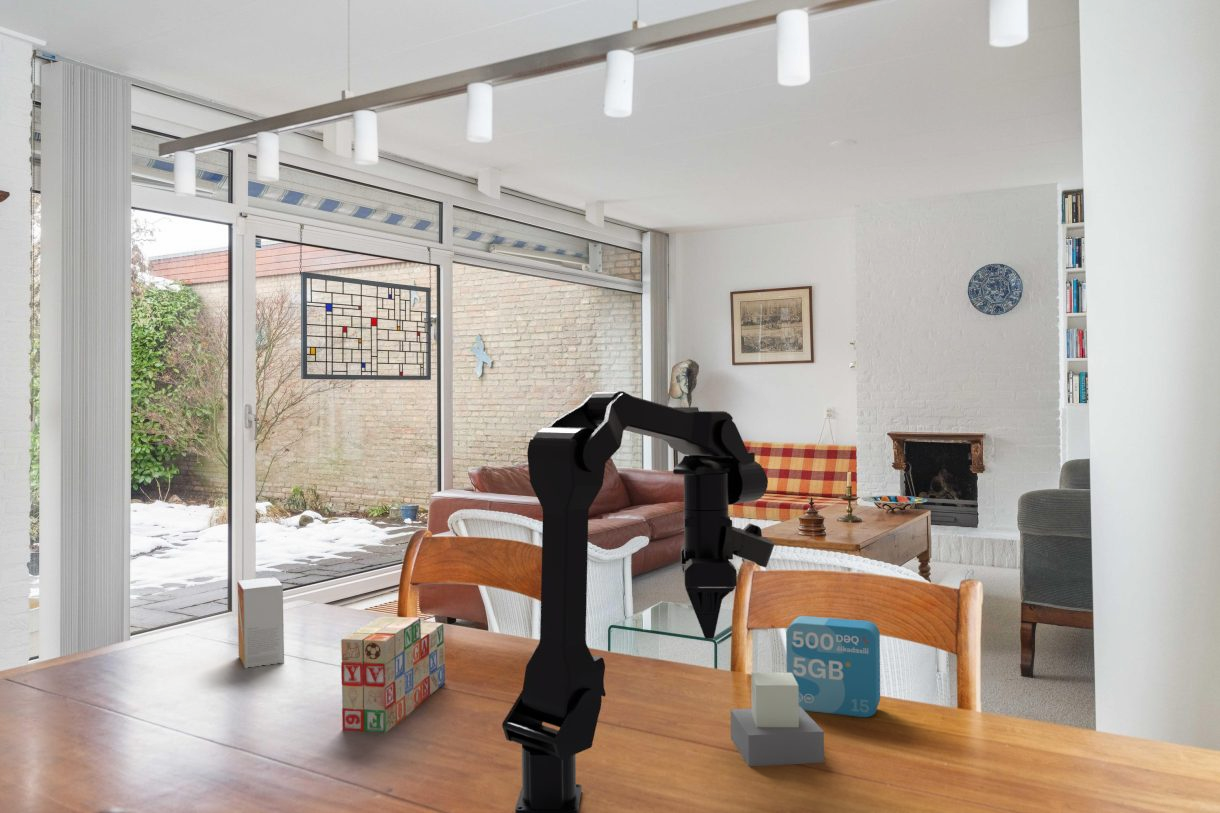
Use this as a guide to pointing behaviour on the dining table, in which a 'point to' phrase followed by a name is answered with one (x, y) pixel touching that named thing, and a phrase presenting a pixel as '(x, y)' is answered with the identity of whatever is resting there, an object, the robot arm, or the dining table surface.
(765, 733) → the gray square block
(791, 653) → the data package
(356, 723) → the stack of blocks
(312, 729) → the dining table surface
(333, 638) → the dining table surface
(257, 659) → the small box
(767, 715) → the sage cube
